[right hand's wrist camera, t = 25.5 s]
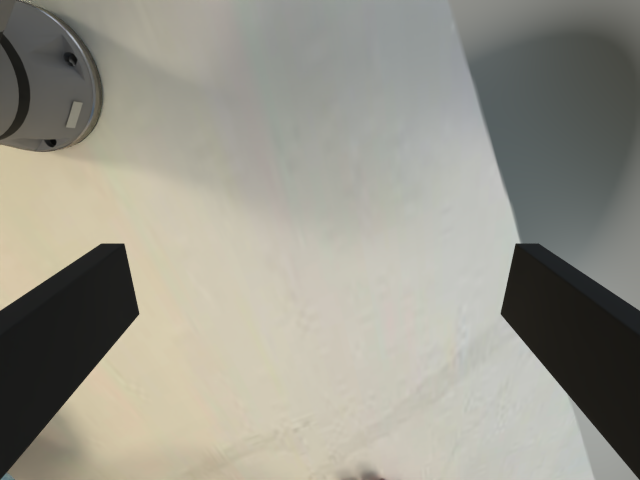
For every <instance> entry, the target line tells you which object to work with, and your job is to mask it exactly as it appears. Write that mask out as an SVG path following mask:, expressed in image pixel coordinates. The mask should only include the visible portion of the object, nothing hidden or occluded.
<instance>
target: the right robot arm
mask: <svg viewBox="0 0 640 480" xmlns="http://www.w3.org/2000/svg"><path fill="white" fill-rule="evenodd" d="M101 105H102V87H101V81H100V77H99V73H98V70H97V67H96V65H95V62H94V60H93V58H92V56H91V54H90V52H89V51H88V49H87V48H86V46H85V44H84V43H83V42H82V40H81V39H80V38H79V37H78V35H77V34H76V33H75V32H74V31H73V30H72V29H71V28H70V27H69V26H68V25H67V24H66V23H64V22H63V21H62V20H61V19H59V18H58V17H56V16H55V15H53V14H52V13H50V12H48V11H46V10H44V9H42V8H40V7H37V6H34V5H31V4H28V3H25V2H22V1H19V0H0V144H1V145H5V146H10V147H14V148H18V149H23V150H28V151H36V152H47V151H54V150H59V149H64V148H68V147H71V146H73V145H75V144H77V143H79V142H80V141H82V140H83V139H84V138H85V137H86V136H88V135H89V133H90V132H91V131H92V129H93V128H94V126H95V125H96V122H97V120H98V118H99V115H100V111H101ZM138 315H139V310H138V305H137V301H136V296H135V291H134V287H133V282H132V277H131V273H130V268H129V263H128V259H127V254H126V249H125V245H124V244H100V245H99V246H97V247H96V248H94V249H93V250H91V251H90V252H88V253H87V254H85V255H84V256H82V257H81V258H79V259H78V260H76V261H75V262H73V263H72V264H70V265H69V266H67V267H66V268H64V269H63V270H61V271H60V272H58V273H57V274H55V275H54V276H52V277H51V278H49V279H47V280H46V281H44V282H43V283H41V284H40V285H38V286H37V287H35V288H34V289H32V290H31V291H29V292H28V293H26V294H25V295H23V296H22V297H20V298H19V299H17V300H16V301H14V302H13V303H11V304H10V305H8V306H7V307H5V308H4V309H2V310H1V311H0V480H1V479H2V477H3V476H4V475H5V474H6V473H7V471H8V470H9V469H10V468H11V467H12V465H13V464H14V463H15V462H16V461H17V459H18V458H19V457H20V456H21V455H22V453H23V452H24V451H25V450H26V449H27V448H28V446H29V445H30V444H31V443H32V442H33V440H34V439H35V438H36V437H37V436H38V434H39V433H40V432H41V431H42V430H43V428H44V427H45V426H46V425H47V424H48V422H49V421H50V420H51V419H52V418H53V416H54V415H55V414H56V413H57V412H58V411H59V409H60V408H61V407H62V406H63V405H64V403H65V402H66V401H67V400H68V399H69V397H70V396H71V395H72V394H73V393H74V391H75V390H76V389H77V388H78V387H79V385H80V384H81V383H82V382H83V381H84V379H85V378H86V377H87V376H88V375H89V374H90V372H91V371H92V370H93V369H94V368H95V366H96V365H97V364H98V363H99V362H100V360H101V359H102V358H103V357H104V356H105V354H106V353H107V352H108V351H109V350H110V348H111V347H112V346H113V345H114V344H115V342H116V341H117V340H118V339H119V338H120V336H121V335H122V334H123V333H124V332H125V331H126V329H127V328H128V327H129V326H130V325H131V323H132V322H133V321H134V320H135V319H136V317H137V316H138ZM501 315H502V316H503V317H504V319H505V320H506V321H507V322H508V323H509V325H510V326H511V327H512V328H513V329H514V331H515V332H516V333H517V334H518V335H519V337H520V338H521V339H522V340H523V341H524V342H525V344H526V345H527V346H528V347H529V348H530V350H531V351H532V352H533V353H534V354H535V356H536V357H537V358H538V359H539V360H540V362H541V363H542V364H543V365H544V366H545V368H546V369H547V370H548V371H549V372H550V374H551V375H552V376H553V377H554V378H555V379H556V381H557V382H558V383H559V384H560V385H561V387H562V388H563V389H564V390H565V391H566V393H567V394H568V395H569V396H570V397H571V399H572V400H573V401H574V402H575V403H576V405H577V406H578V407H579V408H580V409H581V411H582V412H583V413H584V414H585V415H586V416H587V418H588V419H589V420H590V421H591V422H592V424H593V425H594V426H595V427H596V428H597V430H598V431H599V432H600V433H601V434H602V435H603V437H604V438H605V439H606V440H607V442H608V443H609V444H610V445H611V446H612V448H613V449H614V450H615V451H616V452H617V453H618V455H619V456H620V457H621V458H622V459H623V461H624V462H625V463H626V464H627V465H628V467H629V468H630V469H631V470H632V471H633V473H634V474H635V475H636V476H637V477H638V479H639V480H640V311H639V310H638V309H636V308H635V307H633V306H632V305H630V304H629V303H627V302H626V301H624V300H623V299H621V298H620V297H618V296H617V295H615V294H613V293H612V292H611V291H609V290H608V289H606V288H605V287H603V286H602V285H600V284H599V283H597V282H596V281H594V280H592V279H591V278H589V277H588V276H586V275H585V274H583V273H582V272H580V271H579V270H577V269H576V268H574V267H573V266H571V265H570V264H568V263H567V262H565V261H564V260H562V259H561V258H559V257H558V256H556V255H555V254H553V253H552V252H550V251H549V250H547V249H546V248H544V247H543V246H541V245H540V244H516V245H515V249H514V254H513V259H512V263H511V268H510V273H509V277H508V282H507V287H506V291H505V296H504V301H503V305H502V310H501Z"/></svg>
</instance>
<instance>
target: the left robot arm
mask: <svg viewBox="0 0 640 480" xmlns="http://www.w3.org/2000/svg"><path fill="white" fill-rule="evenodd" d="M1 480H15V479H14V478H13V477H12V476H11V475H10V474H8V473H6V474H5V475H4V476H3V477H2V479H1Z"/></svg>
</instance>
